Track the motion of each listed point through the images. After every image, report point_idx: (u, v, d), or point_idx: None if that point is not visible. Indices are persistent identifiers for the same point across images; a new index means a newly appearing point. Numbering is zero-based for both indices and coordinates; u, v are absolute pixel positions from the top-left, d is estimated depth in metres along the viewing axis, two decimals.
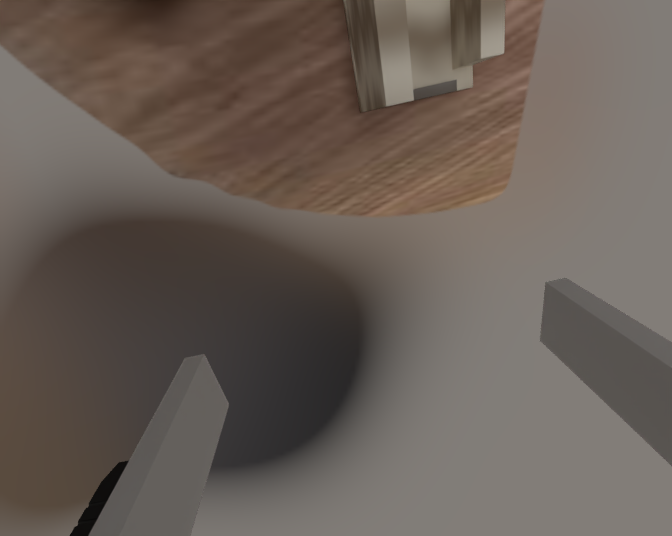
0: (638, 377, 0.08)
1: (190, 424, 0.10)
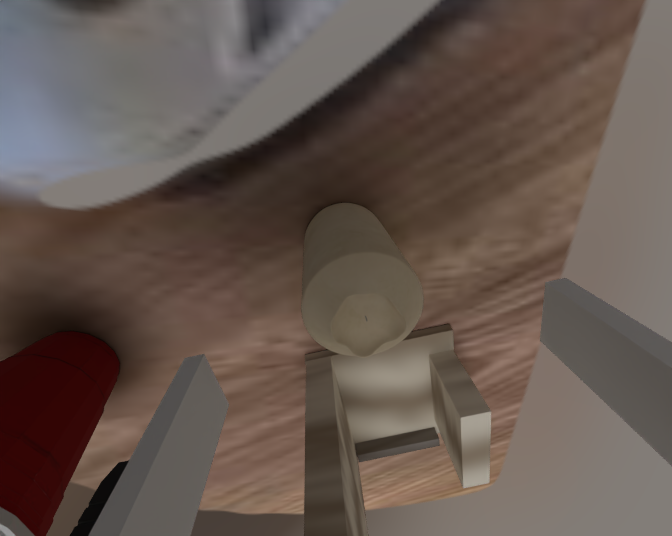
0: (638, 377, 0.08)
1: (190, 424, 0.10)
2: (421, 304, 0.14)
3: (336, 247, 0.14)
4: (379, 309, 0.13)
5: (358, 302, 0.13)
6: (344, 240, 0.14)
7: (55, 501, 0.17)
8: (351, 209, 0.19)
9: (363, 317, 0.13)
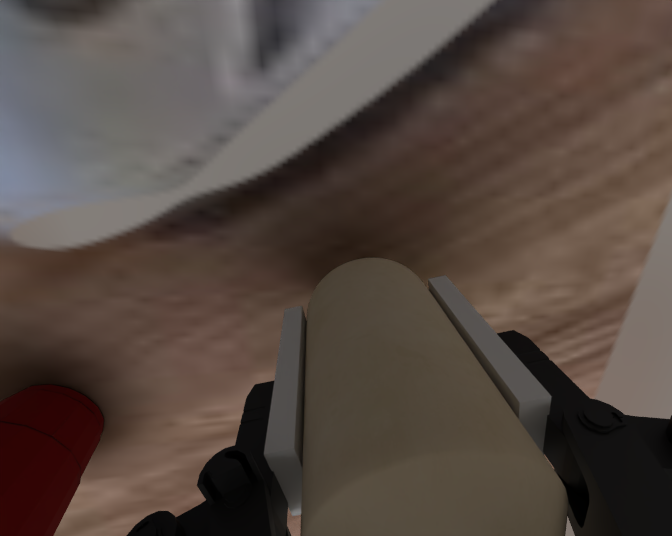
0: None
1: None
2: None
3: (377, 408, 0.06)
4: None
5: None
6: (392, 385, 0.07)
7: None
8: (385, 276, 0.11)
9: None
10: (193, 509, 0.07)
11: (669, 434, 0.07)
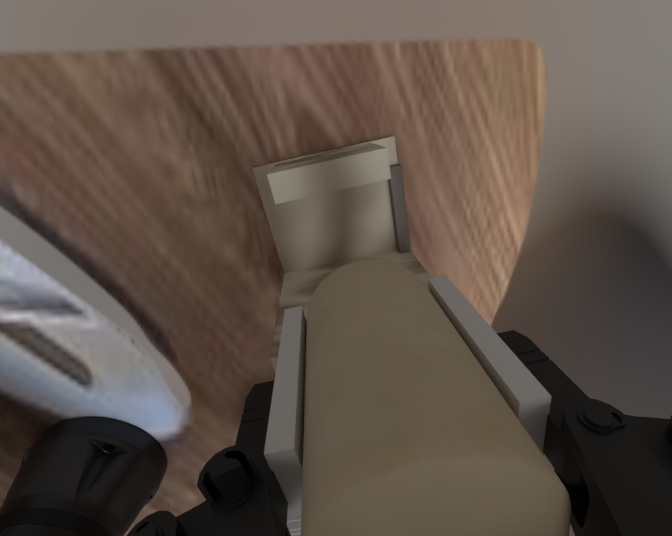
0: None
1: (305, 358, 0.12)
2: None
3: (378, 412, 0.06)
4: None
5: None
6: (393, 388, 0.07)
7: None
8: (386, 278, 0.11)
9: None
10: (193, 509, 0.07)
11: (669, 434, 0.07)
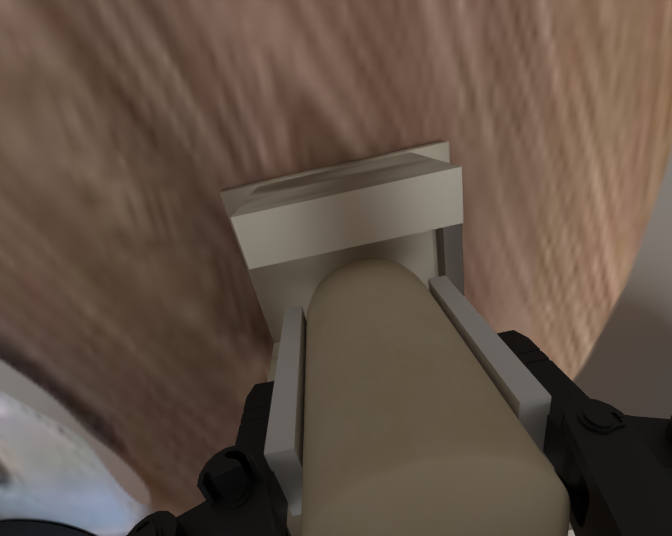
0: None
1: (305, 358, 0.12)
2: None
3: (377, 411, 0.06)
4: None
5: None
6: (393, 388, 0.07)
7: None
8: (386, 277, 0.11)
9: None
10: (193, 509, 0.07)
11: (669, 434, 0.07)
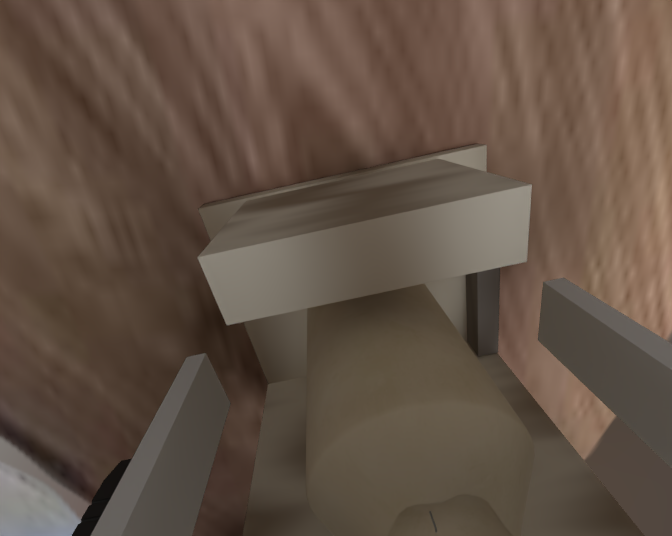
0: (635, 376, 0.08)
1: (192, 422, 0.10)
2: (530, 477, 0.07)
3: (372, 371, 0.07)
4: (459, 502, 0.07)
5: None
6: (385, 352, 0.08)
7: None
8: None
9: (426, 513, 0.07)
10: None
11: None
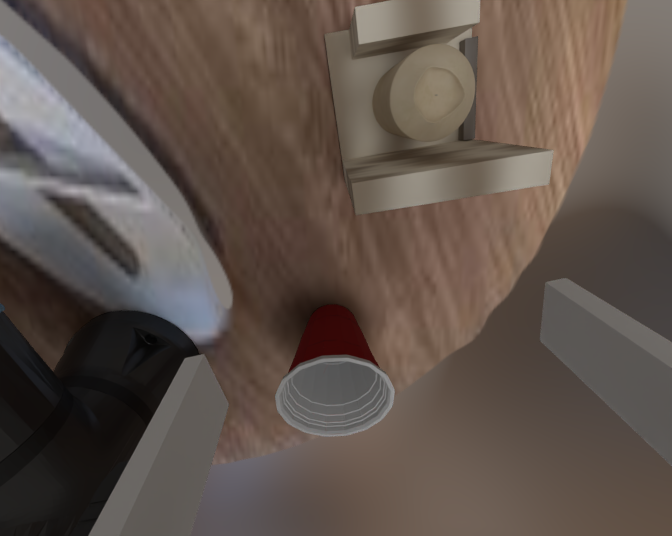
0: (638, 377, 0.08)
1: (190, 424, 0.10)
2: (473, 94, 0.20)
3: None
4: (446, 88, 0.19)
5: (432, 80, 0.19)
6: None
7: (351, 347, 0.28)
8: None
9: (434, 95, 0.20)
10: None
11: None
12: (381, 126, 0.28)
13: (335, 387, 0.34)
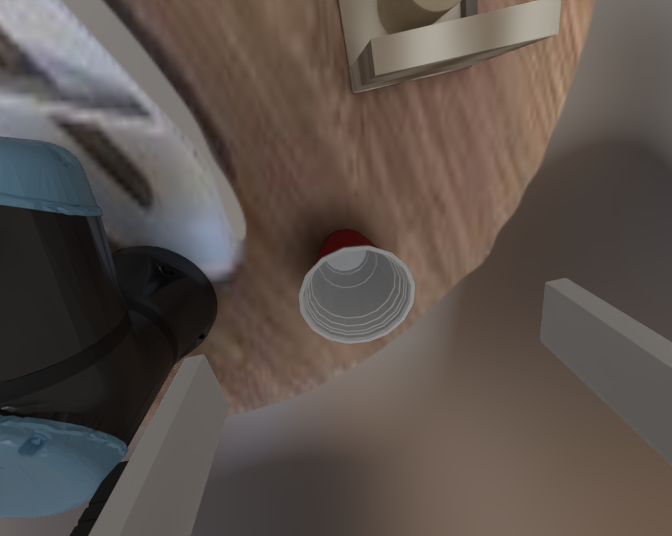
0: (638, 377, 0.08)
1: (190, 424, 0.10)
2: None
3: None
4: None
5: None
6: None
7: (370, 245, 0.29)
8: None
9: None
10: None
11: None
12: (387, 28, 0.29)
13: (353, 304, 0.35)
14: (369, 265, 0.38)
